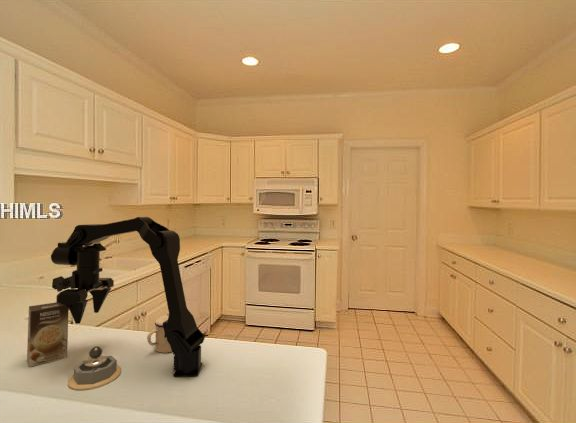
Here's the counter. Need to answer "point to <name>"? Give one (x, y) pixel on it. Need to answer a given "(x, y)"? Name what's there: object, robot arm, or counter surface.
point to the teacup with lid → (160, 336)
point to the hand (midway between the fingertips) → (87, 317)
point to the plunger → (95, 358)
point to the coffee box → (47, 333)
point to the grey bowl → (94, 375)
